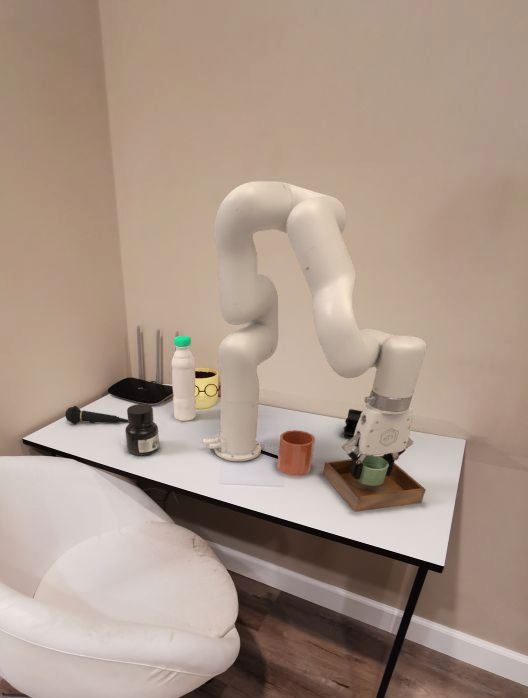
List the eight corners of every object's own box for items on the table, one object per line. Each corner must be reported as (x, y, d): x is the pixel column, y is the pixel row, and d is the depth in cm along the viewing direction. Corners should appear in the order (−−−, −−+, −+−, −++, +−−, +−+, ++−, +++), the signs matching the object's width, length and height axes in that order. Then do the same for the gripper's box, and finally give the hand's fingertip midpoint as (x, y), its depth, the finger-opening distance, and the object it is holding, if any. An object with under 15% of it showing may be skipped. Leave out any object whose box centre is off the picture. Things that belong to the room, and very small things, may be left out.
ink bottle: (146, 460, 115) (142, 418, 108) (120, 452, 119) (115, 412, 112) (166, 444, 122) (163, 405, 115) (140, 438, 126) (137, 399, 119)
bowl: (362, 488, 95) (366, 471, 92) (348, 473, 100) (352, 456, 97) (389, 485, 95) (394, 468, 93) (373, 470, 101) (378, 453, 98)
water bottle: (172, 413, 140) (169, 334, 126) (194, 411, 140) (193, 332, 126) (174, 422, 134) (171, 340, 120) (197, 420, 134) (196, 339, 120)
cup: (284, 478, 104) (287, 447, 99) (272, 462, 111) (275, 432, 106) (315, 474, 105) (320, 443, 100) (302, 458, 111) (306, 428, 107)
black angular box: (384, 434, 120) (390, 412, 117) (379, 445, 115) (384, 422, 112) (347, 427, 125) (351, 405, 121) (340, 437, 120) (344, 414, 117)
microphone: (129, 428, 138) (67, 422, 139) (130, 410, 137) (68, 404, 137) (126, 431, 133) (62, 424, 134) (128, 412, 132) (63, 405, 132)
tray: (354, 512, 91) (358, 498, 89) (322, 475, 104) (325, 462, 102) (421, 503, 93) (426, 489, 91) (381, 468, 106) (385, 454, 104)
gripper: (358, 411, 83) (341, 488, 93) (441, 403, 85) (415, 479, 95) (340, 396, 89) (325, 469, 99) (417, 389, 91) (395, 462, 101)
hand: (369, 474), depth 97 cm, fingers closed on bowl, 6 cm apart
